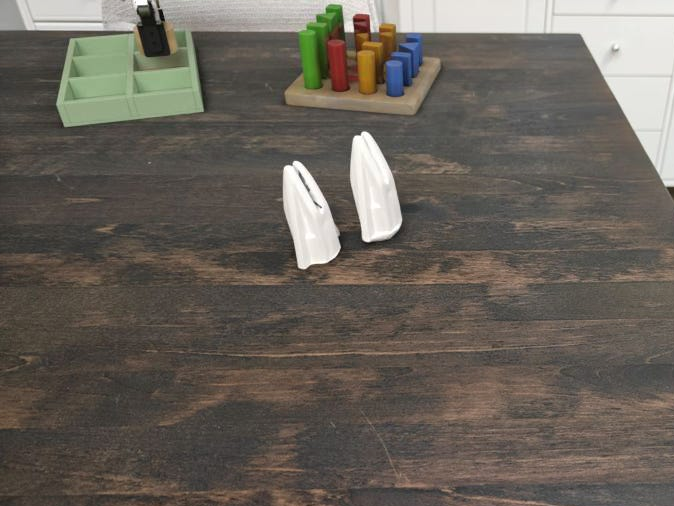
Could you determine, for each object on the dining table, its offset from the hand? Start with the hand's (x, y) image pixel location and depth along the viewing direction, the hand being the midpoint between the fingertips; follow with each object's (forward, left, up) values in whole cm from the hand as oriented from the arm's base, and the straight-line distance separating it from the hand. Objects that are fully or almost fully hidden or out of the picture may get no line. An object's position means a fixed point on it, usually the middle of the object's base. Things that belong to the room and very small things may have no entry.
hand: (157, 47), depth 99 cm
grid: (-4, 0, -5) cm, 6 cm away
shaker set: (+16, -48, -5) cm, 51 cm away
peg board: (+26, -9, -5) cm, 28 cm away
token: (0, 0, 0) cm, 0 cm away
